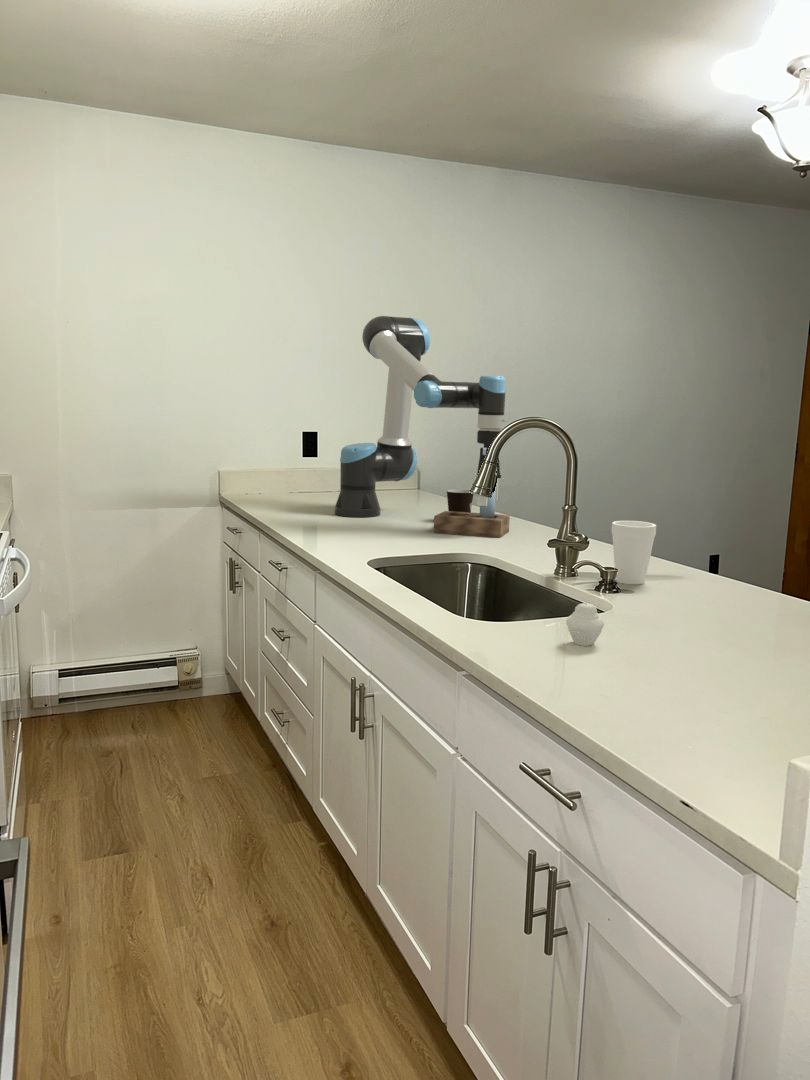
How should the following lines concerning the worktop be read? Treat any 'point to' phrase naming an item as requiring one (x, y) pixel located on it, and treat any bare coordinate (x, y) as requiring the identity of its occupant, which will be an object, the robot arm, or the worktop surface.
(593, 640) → the white lidded urn
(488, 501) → the peg
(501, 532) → the socket block
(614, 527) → the foam cup
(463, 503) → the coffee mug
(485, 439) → the robot arm
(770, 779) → the worktop surface
